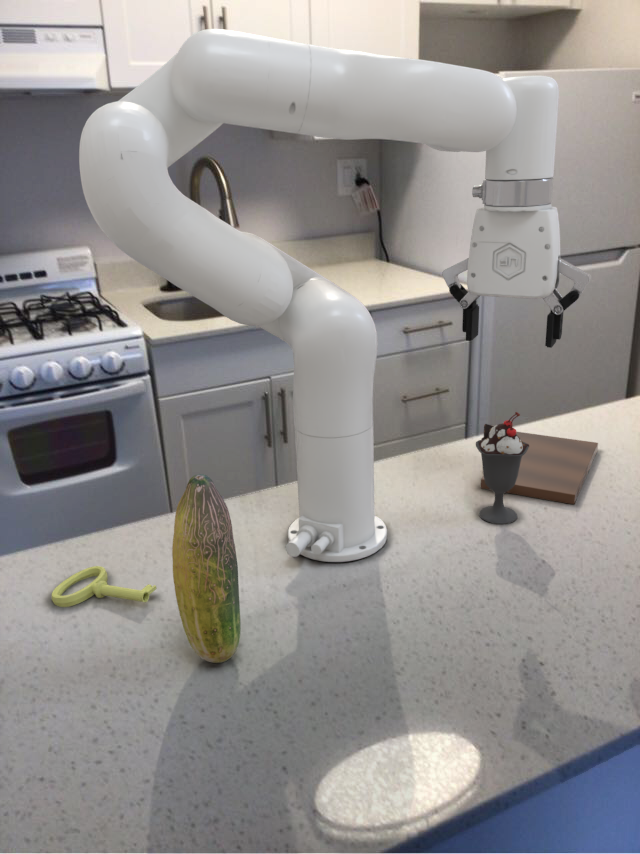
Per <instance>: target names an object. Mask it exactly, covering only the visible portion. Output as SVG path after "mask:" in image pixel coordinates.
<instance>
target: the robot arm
mask: <svg viewBox="0 0 640 854" xmlns="http://www.w3.org/2000/svg"><path fill="white" fill-rule="evenodd" d="M559 101H560V87H559V83H558V82H557V80H556V79H555V78H554V77H552V76H548V75H521V76H510V77H504V78H502V77H501V76H499V75H497V74H495V73H494V72H492V71H488V70H485V69H479V68H474V67H468V66H463V65H457V64H452V63H447V62H446V63H445V62H440V61H433V60H427V59H418V58H412V57H411V58H409V57H403V56H392V55H383V54H378V53H371V52H366V51H359V50H352V49H351V50H350V49H341V48H335V47H329V46H323V45H316V44H311V43H304V42H298V41H293V40H288V39H287V40H286V39H283V38H276V37H272V36H271V37H270V36H265V35H260V34H254V33H248V32H243V31H238V30H237V31H236V30H230V29H223V28H207V29H202V30H199V31H197V32H194V33H193V34H191V35H190V36H189V37H188V38H187V39H186V40H185V41H184V42H183V44H182V45H181V46H180V48H179V49H178V51H177V53H176V54H174V55H173V56H172V57H171V58H170V59H169V60H168V61H167V62H166V63H164V64H163V65H162V66H161V67H160V68H158V69H157V70H156V71H155V72H153V73H152V74H151V75H150V76H149V77H147V78H146V79H145V80H144V81H142V82H141V83H139V85H137V86H135V88H133V89H132V90H131V91H129V92H128V93H127V94H126V95H124V96H123V97H121V98H120V99H119V100H117V101H112V102H109V103H106V104H104V105H102V106H100V107H98V108H97V109H95V110H94V111H93V112H92V113H91V115H89V117H88V118H87V120H86V122H85V124H84V126H83V127H82V130H81V134H80V139H79V147H78V148H79V150H78V151H79V152H78V161H79V162H78V163H79V164H78V165H79V172H80V173H79V176H80V182H81V188H82V193H83V196H84V199H85V202H86V205H87V207H88V209H89V212H90V213H91V215H92V217H93V219H94V221H95V223H96V224H97V227H99V229H100V230H101V232H102V233H103V234H104V235H105V236H106V238H108V240H109V241H110V242H111V243H112V244H113V245H114V246H115V247H117V248H118V249H119V250H120V251H121V252H123V253H124V254H125V255H126V256H128V257H129V258H131V259H133V260H134V261H136V262H137V263H139V264H140V265H142V266H143V267H145V268H147V269H148V270H150V271H152V272H153V273H155V274H157V275H158V276H160V277H162V278H163V279H165V280H167V281H168V282H170V284H172V285H174V286H176V287H177V288H179V289H180V290H182V291H184V292H185V293H187V294H189V295H191V296H192V297H194V298H196V299H197V300H199V301H201V302H202V303H204V304H206V305H207V306H209V307H211V308H212V309H214V310H215V311H217V312H218V313H219V314H221V315H222V316H224V317H225V318H227V319H229V320H230V321H233V322H234V323H237V324H240V325H244V326H251V327H252V326H255V327H256V326H257V327H258V328H260V329H262V330H264V331H265V332H267V333H269V334H271V335H272V336H275V337H276V338H278V339H280V341H283V342H285V343H286V344H287V345H288V346H289V348H290V349H291V351H292V358H293V359H292V361H293V380H292V407H293V408H292V411H293V413H292V414H293V428H294V443H295V444H294V445H295V460H296V461H295V463H296V479H297V480H296V481H297V499H298V500H297V501H298V502H297V503H298V517H297V518H296V519H295V520H294V521H293V522H291V524H290V525H289V527H288V530H287V541H288V542H287V543H286V545H285V552H286V553H287V555H288V556H290V557H292V558H297V557H299V556H300V555H301V556H303V557H305V558H308V559H310V560H314V561H319V562H327V563H346V562H352V561H353V562H354V561H357V560H361V559H364V558H367V557H370V556H371V555H373V554H375V553H377V552H378V551H380V550H381V549H382V548H383V547H384V545H385V544H386V542H387V539H388V529H387V526H386V523H385V522H384V520H382V519H381V518H380V517H379V516H377V515H376V513H375V457H374V456H375V447H374V445H375V442H374V441H375V440H374V439H375V438H374V435H375V434H374V433H375V432H374V430H375V429H374V383H375V374H376V365H377V359H378V351H379V350H378V346H379V344H378V343H379V341H378V340H379V339H378V331H377V327H376V324H375V321H374V318H373V317H372V315H371V313H370V312H369V310H368V308H367V307H366V306H365V305H364V304H363V302H361V300H359V299H358V298H357V297H356V296H354V295H353V294H352V293H350V292H349V291H347V290H345V289H344V288H342V287H340V286H339V285H337V284H336V283H335V282H333V281H331V280H330V279H328V278H326V277H325V276H323V275H322V274H321V273H319V272H317V271H315V270H314V269H312V268H310V267H309V266H307V265H306V264H304V263H302V262H301V261H299V260H297V258H295V257H293V256H291V255H290V254H288V253H286V252H285V251H283V250H282V249H280V248H279V247H277V246H275V245H274V244H272V243H271V242H269V241H268V240H266V239H265V238H263V237H261V236H259V235H258V234H255V233H252V232H248V231H241V230H239V229H238V228H235V227H234V226H233V225H231V224H229V223H227V222H226V221H224V220H222V219H221V218H219V217H217V216H216V215H215V214H213V213H212V212H211V211H209V210H208V209H207V208H205V207H203V206H202V205H200V204H199V203H197V202H195V201H194V200H192V199H191V198H189V197H188V196H186V195H184V194H183V192H182V191H180V190H179V189H178V187H177V186H176V185H175V183H174V182H173V180H172V178H171V177H170V174H169V170H168V169H169V168H170V167H171V166H172V165H174V164H175V163H176V162H177V161H178V160H179V159H181V158H182V157H183V156H185V155H187V154H188V153H189V152H190V151H192V150H193V149H194V148H195V147H197V146H198V145H199V144H200V143H201V142H203V141H204V140H205V139H207V138H208V137H209V136H210V135H212V133H214V132H215V131H217V129H219V128H220V127H221V126H222V125H223V124H227V125H232V126H233V125H234V126H241V127H246V128H247V127H248V128H254V129H261V130H267V131H274V132H275V131H276V132H281V133H282V132H283V133H284V132H285V133H289V134H296V135H304V136H311V137H317V138H322V139H333V140H345V141H346V140H347V141H352V140H353V141H355V140H388V141H398V142H399V141H400V142H407V143H416V144H423V145H426V146H428V147H429V148H432V149H433V150H437V151H440V152H449V153H450V152H451V153H459V152H463V153H464V152H466V153H482V152H483V153H484V152H485V166H484V167H485V168H484V169H485V170H484V180H483V181H482V183H480V184H478V185H475V184H474V185H473V186H472V191H471V192H472V193H471V195H472V197H473V198H478V199H481V201H482V204H483V207H480V208H477V209H476V212H475V215H474V220H473V224H472V229H471V237H470V244H469V253H468V258H466V259H463V260H462V261H460V262H458V263H455V264H453V265H451V266H449V267H447V268H445V269H443V271H442V272H441V273H442V274H441V275H442V278H443V280H444V282H445V284H446V286H447V287H448V290H449V294H451V296H452V297H453V298H454V299H455V300H456V301H457V303H458V304H459V307H460V309H462V327H461V329H462V330H461V331H462V333H465V341H467V342H471V341H473V340H474V339H476V338H477V337H478V336H479V328H480V327H479V324H480V306H479V304H478V303H477V300H478V299H479V298H480V297H492V298H493V297H494V298H507V299H508V298H510V299H529V300H531V299H532V300H538V299H542V300H543V301H544V302H545V304H546V305H547V307H549V309H550V310H549V311H550V312H549V313H548V314H547V317H546V328H545V344H544V346H545V347H546V348H548V349H549V348H550V349H552V348H553V347H554V345H556V343H557V340H561V339H562V334H563V322H564V312H565V311H566V310H567V309H569V307H571V306H572V305H573V304H574V303H576V302H577V301H578V299H580V298H581V295H582V294H583V293H584V291H585V289H586V288H587V286H588V285H589V283H590V281H591V280H592V276H591V274H590V273H588V272H586V271H585V270H582V268H579V267H577V266H576V265H574V264H572V263H571V262H569V261H567V260H565V259H563V258H562V257H561V230H560V219H559V211H558V207H557V206H553V205H552V204H553V189H554V175H555V173H554V172H555V163H556V162H555V160H556V147H557V131H558V116H559V104H560V103H559ZM464 272H467V273H466V286H467V289H466V288H465V287H464V286H463V284H461V283H460V279H459V275H460V274H462V273H464ZM561 275H562V276H564V277H566V278H568V279H570V280H571V281H573V286H572V287H571V289H570V291H569V292H567V293H566V294H565V295H564V296H563V295H562V294H561V292H560V291H559V290H558V289H557V288H558V287H559V284H560V278H561V277H560V276H561Z"/></svg>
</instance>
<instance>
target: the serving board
mask: <svg viewBox="0 0 640 854" xmlns="http://www.w3.org/2000/svg"><path fill="white" fill-rule="evenodd" d="M516 434H517V436H518V437H519V438H520V440H521V441H522V442H525V443H527V444H529V448H528V450H527V452H526V453H525V454H524V455H523V456H522V458H521V462H520V467H519V472H518V476H517V480H516V483H515V485H514V487H512V488H511V489H510V490H509V491H507V492H505V493H504V494H511V495H516V496H523V497H527V498H528V497H529V498H535V499H540V500H546V501H552V502H556V503H557V502H558V503H564V504H570V505H575V504H576V501H577V499H578V497H579V495H580V492H581V490H582V487H583V485H584V484H585V481H586V478H587V476H588V474H589V471H590V469H591V467H592V464H593V462H594V460H595V458H596V456H597V453H598V448H599V442H595V441H589V440H588V441H587V440H580V439H574V438H566V437H559V436H552V435H545V434H536V433H529V432H522V431H517V432H516ZM480 489H483V490H487V491H488V490H489V491H492V490H491V489H489V487H488V486H487V485H486V484H485V480H484V475H483V476H482V477H481V478H480Z"/></svg>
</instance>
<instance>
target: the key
mask: <svg viewBox="0 0 640 854" xmlns="http://www.w3.org/2000/svg"><path fill="white" fill-rule="evenodd" d="M91 577H96V578H94V579H93V580H92V581H91V582H90V583H89V584H87V585H86V586H84V587H83V588H81V589H79V590H77V591H75V592H73V593H70V594H66V595H63V594H64V593H65V591H67V590H68V589H69V588H70V587H72V586H73V585H75V584H76V583H78V582H79V583H80V581H83V580H86V579H88V578H91ZM108 579H109V577H108V573H107V570H106V568H105V567H104V566H101V565H93V566H89V567H85V568H83V569H82V570H79V571H77V572H76V573H73V574H72V575H70V576H69V577H67V578H66V579H64V580H62V582H60V583H59V584H58V585H57V586H56V587H54V589H53V590H52V591H51V602H53V605H55V606H57V607H59V608H70V607H72V606H77V605H78V604H81V603H83V602H85V601H86V600H88V599H90V598H91V597H93V596H95V597H96V598H98V599H102V598H105V597H112V598H118V599H122V600H130V601H135V602H140V603H141V602H142V603H147V602H148V601H149V599H150V595H151V594H152V593H154V592H155V591H156V590H157V585H156V584H153V585H152V584H147V585H145V587H143V588H142V589H135V588H128V587H122V586H116V585H110V584H108Z"/></svg>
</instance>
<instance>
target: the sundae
mask: <svg viewBox="0 0 640 854" xmlns="http://www.w3.org/2000/svg"><path fill="white" fill-rule="evenodd" d="M518 417H521V413H519V412H518V411H515V413H514V414H513V415H512V416H511V417H510V418H509V419H506V420H504V421H503V423H502V422H501V423H498V424H496V425H492V424H488V423H485V424H484V425H483V437H481V439H478V440H477V441H475V447H476V449H477V450H478V452H479V453H480V455H481V464H482V474H483V476H484V480H485V484H486V485H487V486H488V487H489V489H491V490H490V491H492V492H493V493H494V500H493V504H492V505H488V506H485V507H482V508H481V509H480V510H479V513H478V516H479V517H480V518H481V519H482V520H483V521H485V522H487V523H490V524H496V525H506V524H510V523H513V522H515V521H516V520H517V518H518V514H517V512H516V511H515V510H514V509H512V508H510V507H507V506H505V505H504V504H505V503H504V495H505V494H506V493H505V492H507V491H509V490H510V489H511V488H512V487H514V485H515V483H516V480H517V476H518V472H519V467H520V462H521V458H522V456H523V455H524V454H525V453H526V452H527V450H528V448H529V444H527V443H525V442H522V441H521V440H520V438H519V437H518V436H517V434H516V432H518V431H517V429H515V428H514V427H513V421H514V420H515V419H516V418H518Z"/></svg>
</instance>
